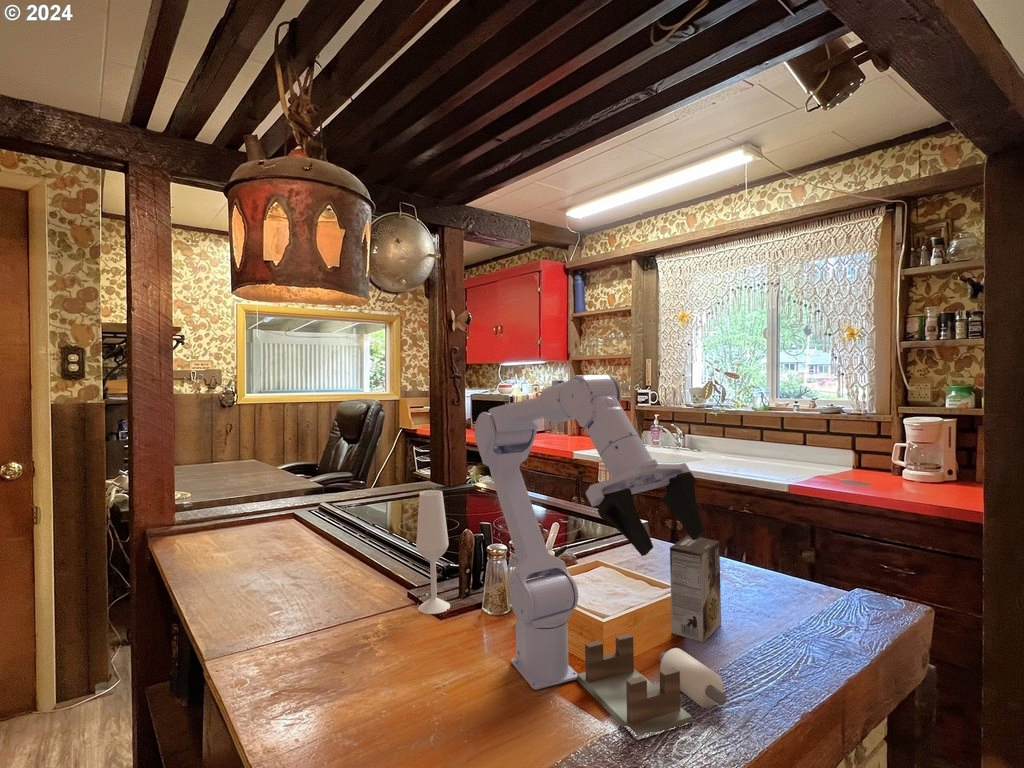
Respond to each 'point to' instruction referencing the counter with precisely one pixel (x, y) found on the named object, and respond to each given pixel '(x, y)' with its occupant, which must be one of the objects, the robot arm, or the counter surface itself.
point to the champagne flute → (432, 542)
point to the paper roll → (695, 678)
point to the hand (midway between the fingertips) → (674, 543)
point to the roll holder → (632, 689)
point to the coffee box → (695, 588)
